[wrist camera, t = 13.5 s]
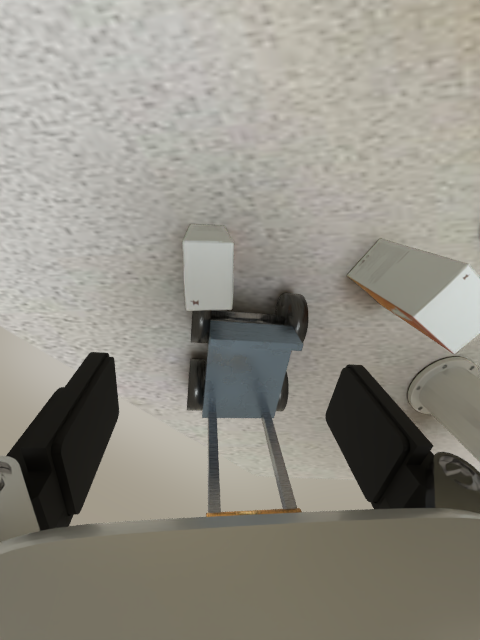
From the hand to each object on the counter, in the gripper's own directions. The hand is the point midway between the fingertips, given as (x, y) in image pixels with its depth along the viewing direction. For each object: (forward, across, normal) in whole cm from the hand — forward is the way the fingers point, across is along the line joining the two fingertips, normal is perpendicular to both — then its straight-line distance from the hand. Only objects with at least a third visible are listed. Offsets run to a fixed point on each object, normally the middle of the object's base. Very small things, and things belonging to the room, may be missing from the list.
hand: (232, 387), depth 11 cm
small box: (+25, -23, 0) cm, 34 cm away
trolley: (+24, -4, +12) cm, 27 cm away
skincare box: (+24, +1, -1) cm, 25 cm away
